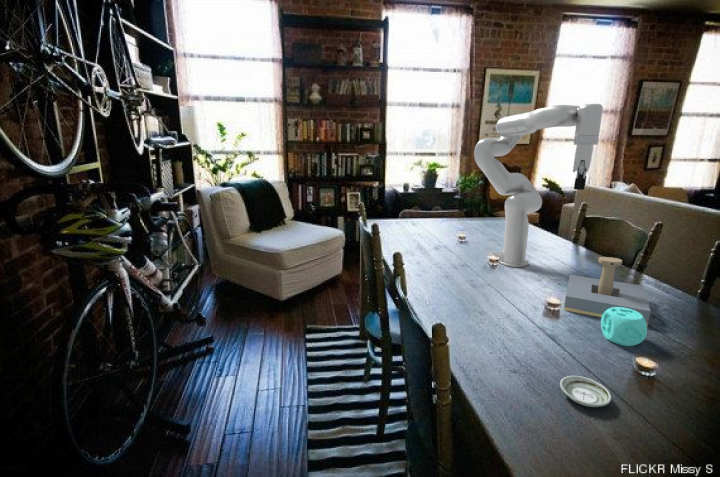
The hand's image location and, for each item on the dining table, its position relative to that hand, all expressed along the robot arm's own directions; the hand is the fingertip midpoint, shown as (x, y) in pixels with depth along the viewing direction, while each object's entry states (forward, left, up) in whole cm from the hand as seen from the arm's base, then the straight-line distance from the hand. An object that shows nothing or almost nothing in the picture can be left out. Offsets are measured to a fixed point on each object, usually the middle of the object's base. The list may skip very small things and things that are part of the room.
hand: (579, 187), depth 138 cm
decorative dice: (+16, -43, -37) cm, 59 cm away
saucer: (+8, -76, -37) cm, 85 cm away
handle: (+12, -20, -36) cm, 42 cm away
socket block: (+12, -20, -36) cm, 43 cm away
